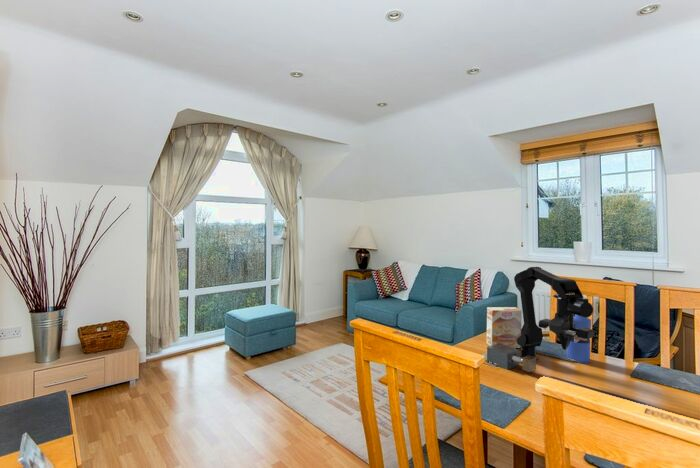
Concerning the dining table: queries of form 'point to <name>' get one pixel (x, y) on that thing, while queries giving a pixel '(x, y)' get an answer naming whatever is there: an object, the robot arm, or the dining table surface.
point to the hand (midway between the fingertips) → (564, 349)
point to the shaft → (526, 362)
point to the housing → (502, 355)
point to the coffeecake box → (503, 326)
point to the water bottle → (580, 342)
